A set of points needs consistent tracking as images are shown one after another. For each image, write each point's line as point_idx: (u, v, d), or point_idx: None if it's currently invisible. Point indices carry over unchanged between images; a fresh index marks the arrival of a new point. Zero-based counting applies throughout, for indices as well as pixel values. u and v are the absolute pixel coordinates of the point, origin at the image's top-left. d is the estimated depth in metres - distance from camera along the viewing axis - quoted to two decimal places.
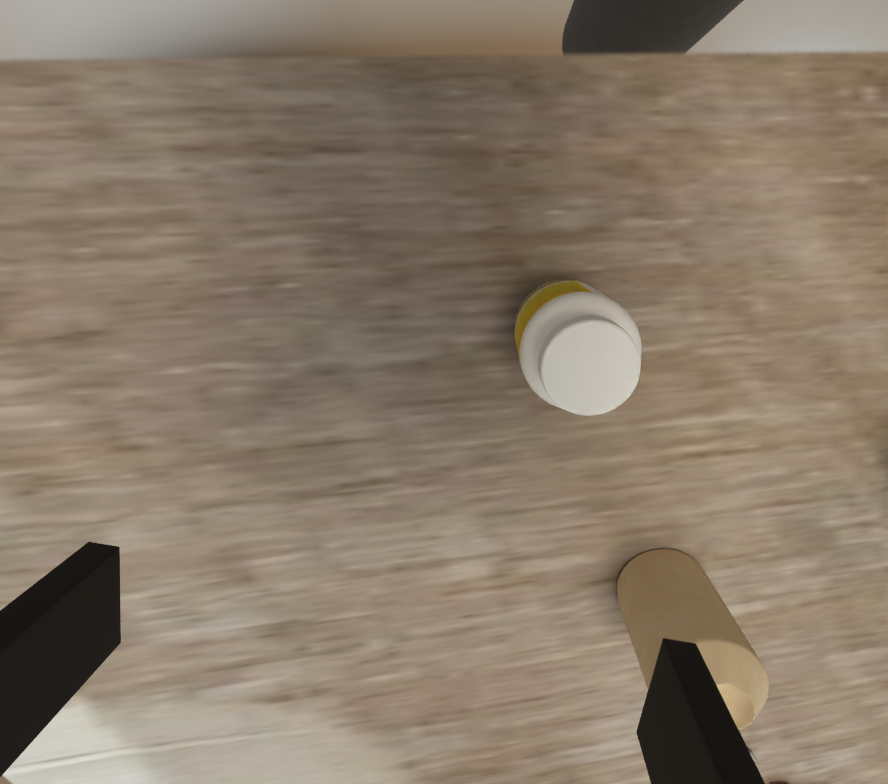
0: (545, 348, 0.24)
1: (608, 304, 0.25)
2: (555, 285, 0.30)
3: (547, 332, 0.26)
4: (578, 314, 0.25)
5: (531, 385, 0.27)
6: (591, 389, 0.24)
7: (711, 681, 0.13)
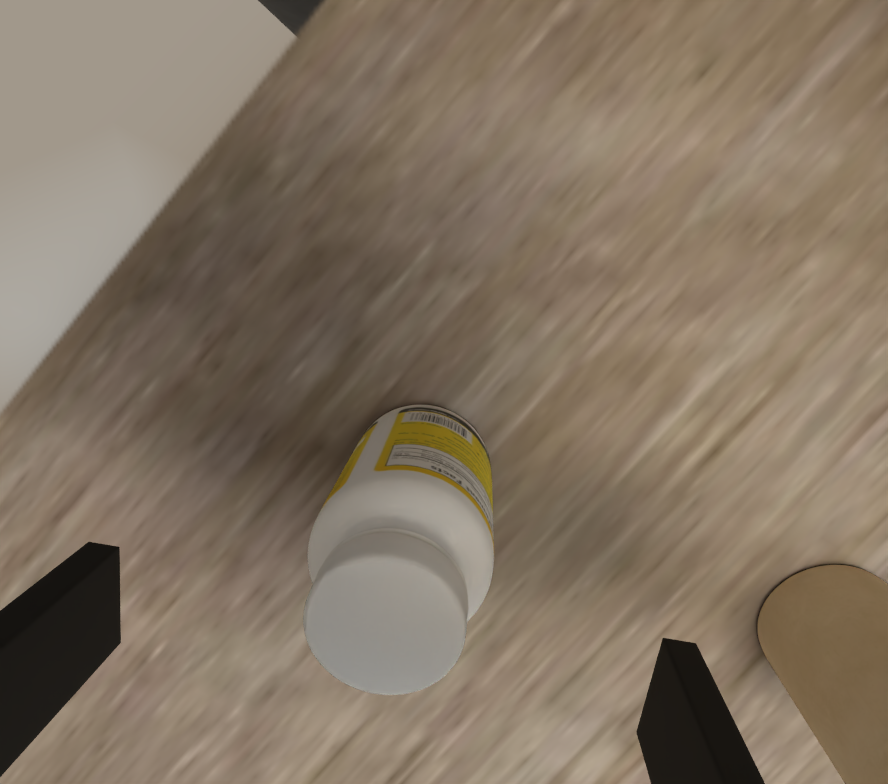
0: None
1: (360, 496, 0.16)
2: None
3: None
4: (337, 542, 0.16)
5: None
6: (410, 648, 0.14)
7: (711, 682, 0.13)
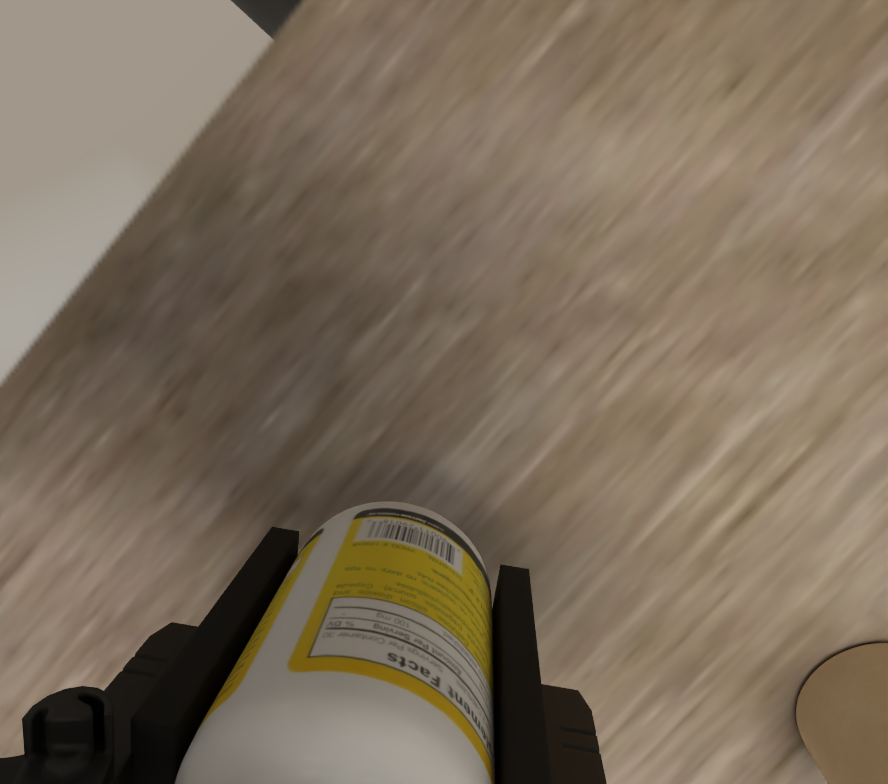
0: None
1: (252, 735, 0.09)
2: None
3: None
4: None
5: None
6: None
7: (530, 596, 0.15)
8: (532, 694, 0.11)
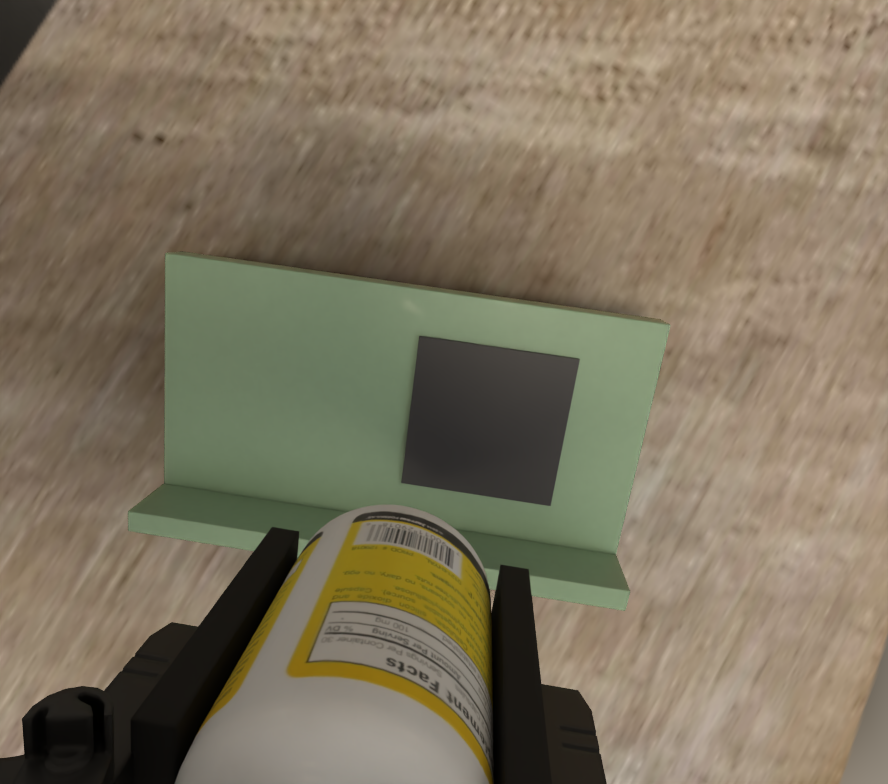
0: None
1: (251, 740, 0.09)
2: None
3: None
4: None
5: None
6: None
7: (530, 597, 0.15)
8: (532, 694, 0.11)
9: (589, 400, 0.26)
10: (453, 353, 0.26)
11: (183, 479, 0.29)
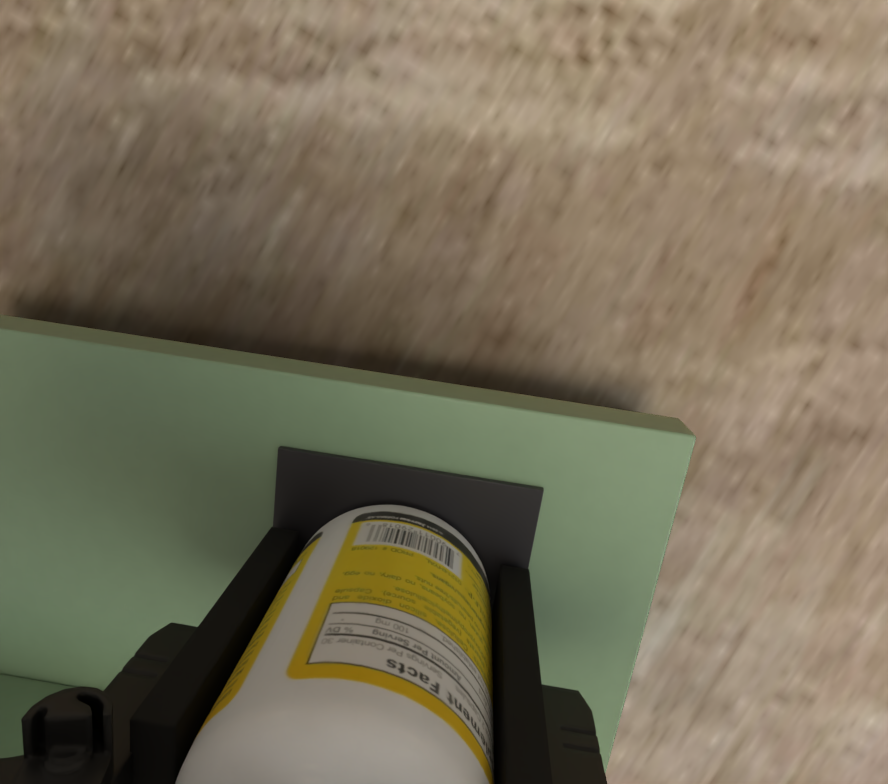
0: None
1: (251, 743, 0.09)
2: None
3: None
4: None
5: None
6: None
7: (531, 597, 0.15)
8: (533, 694, 0.11)
9: (561, 552, 0.16)
10: (335, 476, 0.16)
11: None
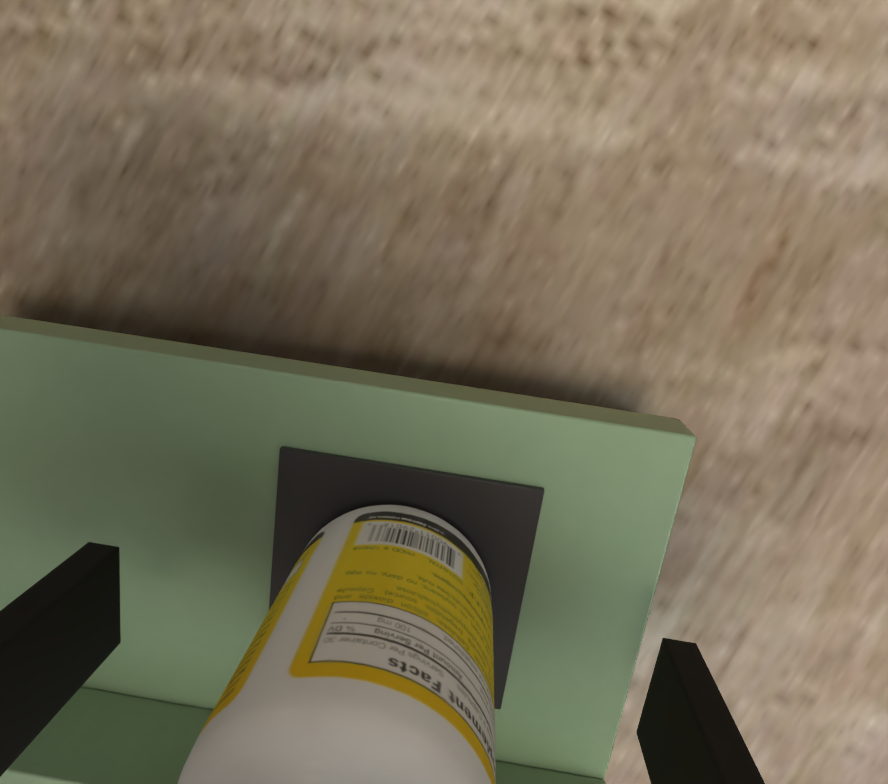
0: None
1: (255, 740, 0.09)
2: (271, 606, 0.14)
3: None
4: None
5: None
6: None
7: (711, 681, 0.13)
8: None
9: (562, 552, 0.16)
10: (336, 476, 0.16)
11: None
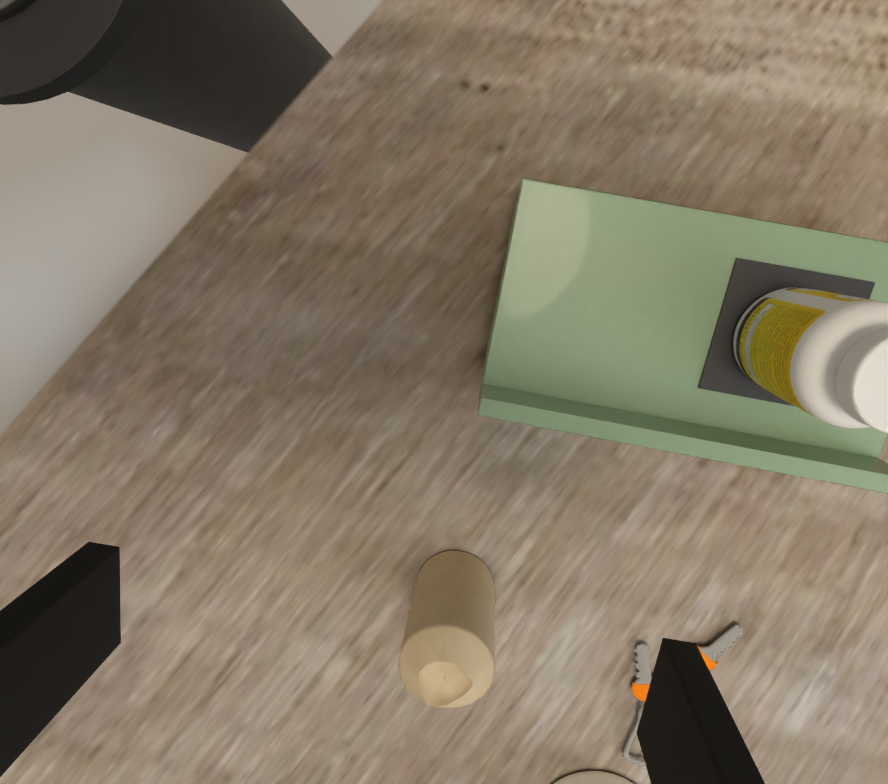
0: (851, 400, 0.22)
1: (857, 312, 0.24)
2: (763, 320, 0.28)
3: (824, 377, 0.24)
4: (840, 342, 0.24)
5: (842, 426, 0.25)
6: None
7: (710, 681, 0.13)
8: None
9: None
10: (765, 273, 0.31)
11: (500, 380, 0.33)
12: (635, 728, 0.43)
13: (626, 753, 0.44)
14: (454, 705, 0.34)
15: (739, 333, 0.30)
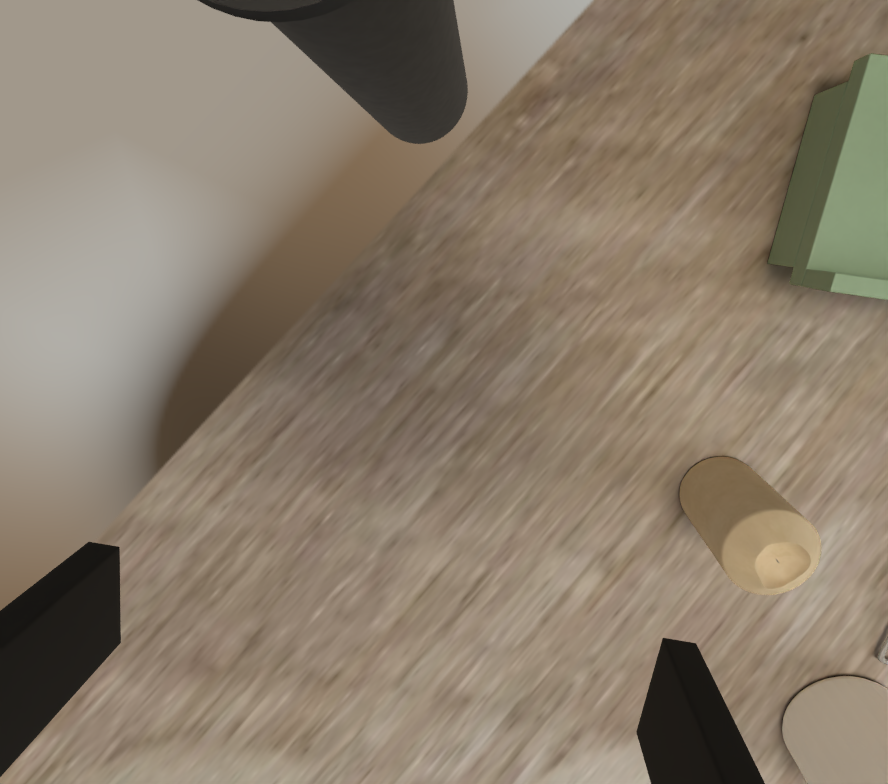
0: None
1: None
2: None
3: None
4: None
5: None
6: None
7: (711, 681, 0.13)
8: None
9: None
10: None
11: (825, 264, 0.34)
12: None
13: (882, 655, 0.44)
14: (784, 588, 0.34)
15: None
